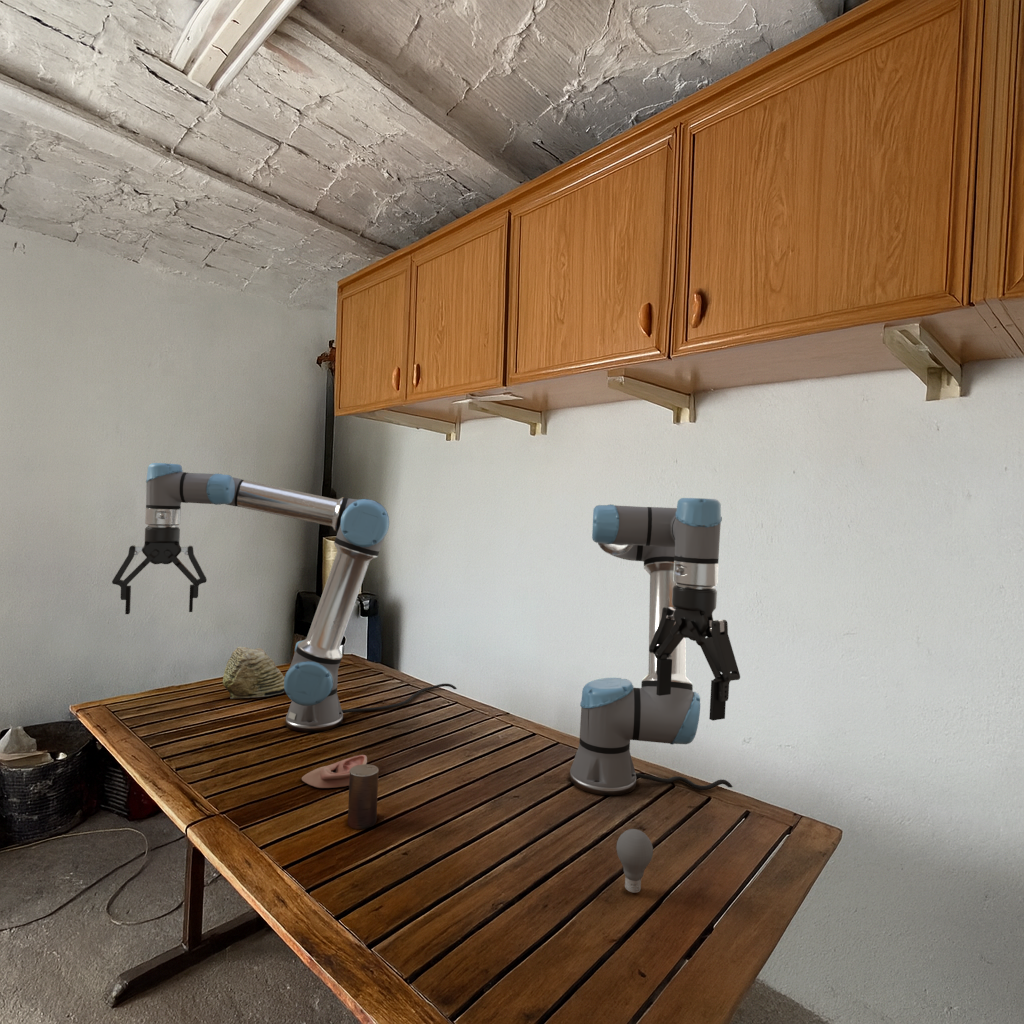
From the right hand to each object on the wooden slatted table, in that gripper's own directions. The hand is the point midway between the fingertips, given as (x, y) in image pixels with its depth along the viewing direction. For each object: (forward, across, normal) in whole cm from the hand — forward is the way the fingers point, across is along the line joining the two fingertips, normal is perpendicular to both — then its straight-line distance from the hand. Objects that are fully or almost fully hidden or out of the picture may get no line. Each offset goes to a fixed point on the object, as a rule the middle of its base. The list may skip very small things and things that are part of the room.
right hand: (688, 706), depth 111 cm
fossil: (+30, -126, -61) cm, 143 cm away
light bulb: (+29, +2, -12) cm, 32 cm away
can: (+29, -37, -48) cm, 67 cm away
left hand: (-3, -92, -86) cm, 126 cm away
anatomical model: (+30, -58, -49) cm, 82 cm away
